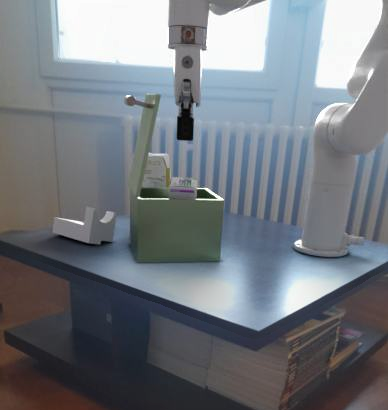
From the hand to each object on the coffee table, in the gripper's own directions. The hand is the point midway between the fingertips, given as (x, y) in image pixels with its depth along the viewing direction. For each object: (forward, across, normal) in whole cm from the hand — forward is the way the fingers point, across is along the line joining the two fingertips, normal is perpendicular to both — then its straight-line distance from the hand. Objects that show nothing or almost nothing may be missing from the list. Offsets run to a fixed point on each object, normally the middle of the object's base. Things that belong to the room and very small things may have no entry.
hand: (184, 138), depth 101 cm
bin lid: (+1, -2, +8) cm, 8 cm away
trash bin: (+24, 0, +2) cm, 24 cm away
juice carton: (+24, +16, +8) cm, 29 cm away
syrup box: (+22, 0, 0) cm, 22 cm away
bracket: (+24, +9, +23) cm, 34 cm away
